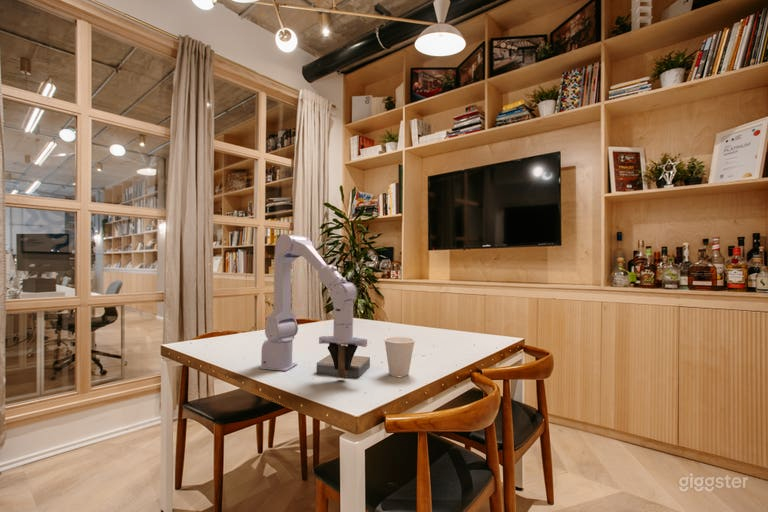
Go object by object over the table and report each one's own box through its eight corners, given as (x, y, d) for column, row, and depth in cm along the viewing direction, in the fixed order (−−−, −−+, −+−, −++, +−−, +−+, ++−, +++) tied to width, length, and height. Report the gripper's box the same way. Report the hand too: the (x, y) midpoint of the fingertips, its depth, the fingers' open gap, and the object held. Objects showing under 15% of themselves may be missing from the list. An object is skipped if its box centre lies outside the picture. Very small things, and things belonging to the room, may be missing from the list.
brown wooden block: (336, 377, 110) (336, 347, 110) (339, 374, 112) (340, 344, 112) (344, 378, 109) (345, 347, 109) (348, 375, 112) (348, 345, 112)
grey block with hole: (316, 373, 117) (316, 362, 117) (330, 363, 129) (330, 353, 129) (359, 377, 114) (359, 366, 114) (369, 367, 125) (370, 357, 125)
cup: (378, 371, 121) (379, 337, 121) (406, 368, 124) (407, 335, 124) (390, 380, 111) (390, 343, 112) (420, 377, 115) (420, 341, 115)
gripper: (315, 324, 109) (314, 370, 109) (362, 326, 105) (361, 375, 105) (324, 320, 116) (323, 364, 115) (369, 323, 112) (368, 368, 112)
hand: (342, 369), depth 111 cm, fingers closed on brown wooden block, 3 cm apart
